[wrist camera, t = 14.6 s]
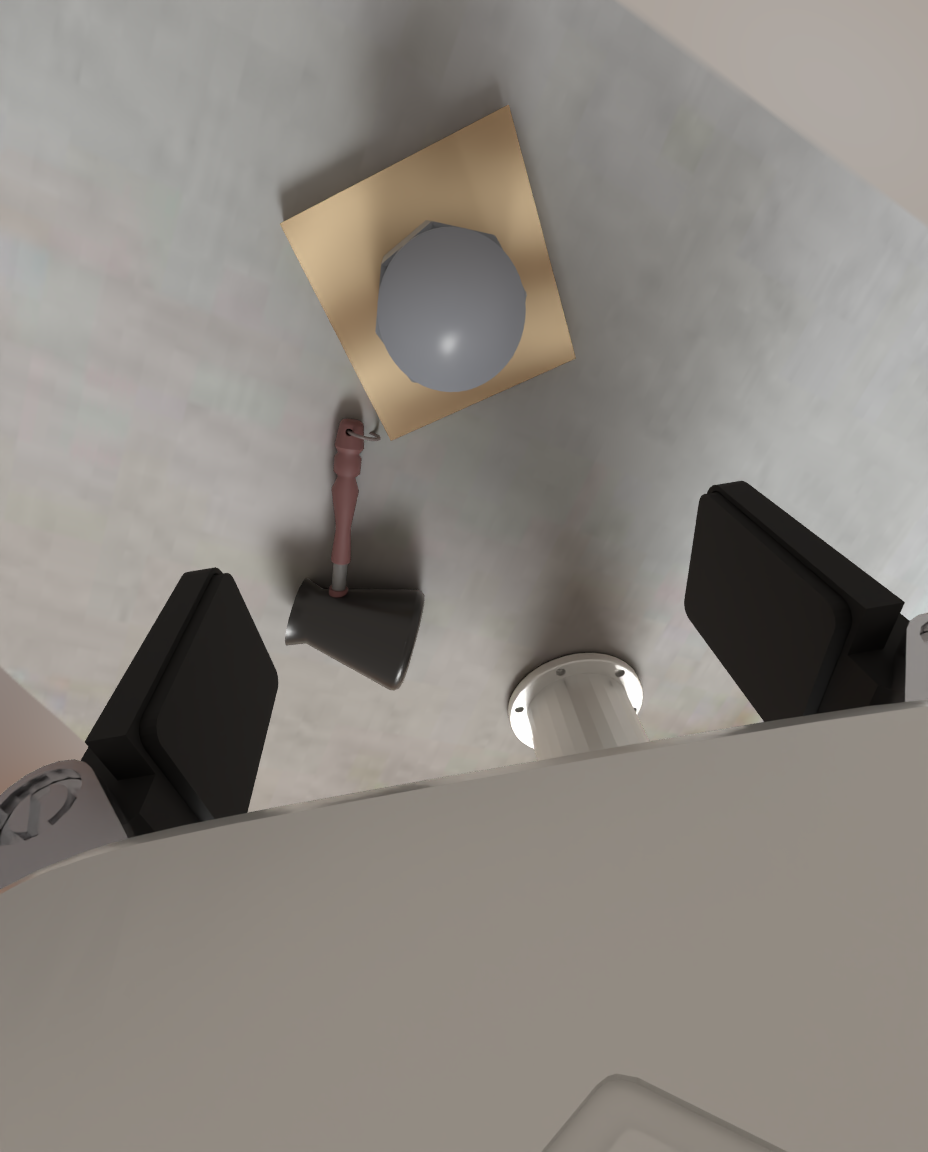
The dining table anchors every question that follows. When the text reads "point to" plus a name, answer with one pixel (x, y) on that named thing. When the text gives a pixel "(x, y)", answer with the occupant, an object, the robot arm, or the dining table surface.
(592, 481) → the dining table surface
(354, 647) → the coffee pot
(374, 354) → the plate with round knob
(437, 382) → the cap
